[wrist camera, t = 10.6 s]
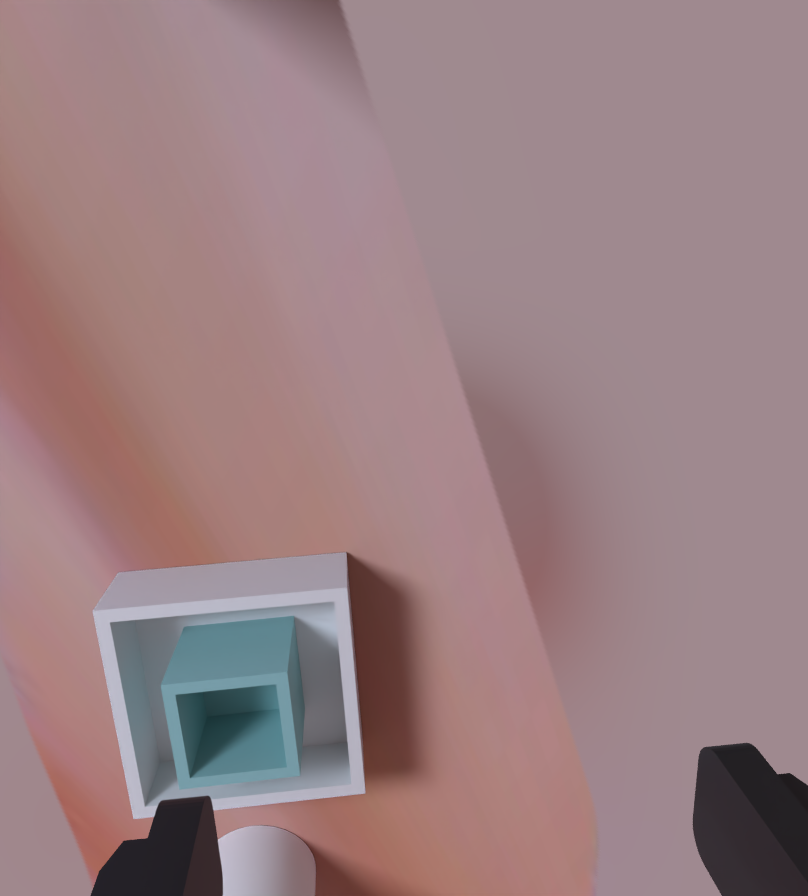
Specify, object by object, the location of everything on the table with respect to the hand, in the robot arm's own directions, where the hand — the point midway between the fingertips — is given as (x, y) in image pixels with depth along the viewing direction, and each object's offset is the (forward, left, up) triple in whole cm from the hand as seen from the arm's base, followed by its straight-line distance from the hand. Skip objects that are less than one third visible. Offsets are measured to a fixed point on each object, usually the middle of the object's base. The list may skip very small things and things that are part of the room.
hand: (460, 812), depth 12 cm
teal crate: (+14, -8, -27) cm, 31 cm away
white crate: (+14, -8, -28) cm, 32 cm away
